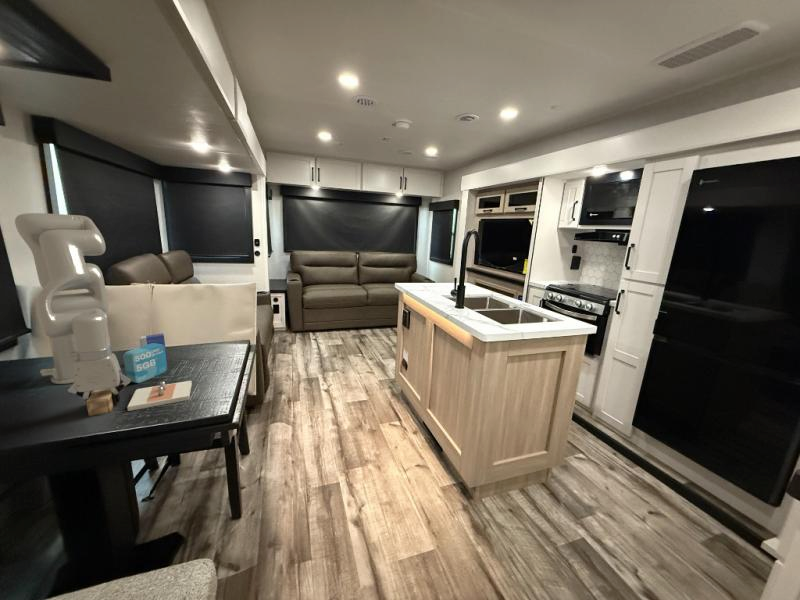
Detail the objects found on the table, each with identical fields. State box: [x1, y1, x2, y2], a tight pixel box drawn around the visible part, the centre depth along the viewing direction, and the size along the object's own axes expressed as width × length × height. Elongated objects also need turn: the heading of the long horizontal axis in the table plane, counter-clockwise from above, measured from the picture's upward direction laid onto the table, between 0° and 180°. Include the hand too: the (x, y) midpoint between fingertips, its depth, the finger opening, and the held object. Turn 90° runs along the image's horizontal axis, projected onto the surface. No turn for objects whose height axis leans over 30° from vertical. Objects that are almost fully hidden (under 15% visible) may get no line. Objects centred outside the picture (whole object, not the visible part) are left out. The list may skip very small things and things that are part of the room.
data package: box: [122, 343, 168, 384], centre depth 117 cm, size 12×4×12 cm, turn 165°
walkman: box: [139, 332, 168, 361], centre depth 130 cm, size 8×3×12 cm, turn 132°
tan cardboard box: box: [85, 388, 115, 417], centre depth 98 cm, size 5×9×5 cm, turn 30°
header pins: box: [158, 380, 166, 396], centre depth 105 cm, size 1×5×3 cm, turn 30°
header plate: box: [126, 380, 193, 412], centre depth 106 cm, size 16×12×2 cm
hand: (104, 405), depth 98 cm, fingers closed on tan cardboard box, 5 cm apart
